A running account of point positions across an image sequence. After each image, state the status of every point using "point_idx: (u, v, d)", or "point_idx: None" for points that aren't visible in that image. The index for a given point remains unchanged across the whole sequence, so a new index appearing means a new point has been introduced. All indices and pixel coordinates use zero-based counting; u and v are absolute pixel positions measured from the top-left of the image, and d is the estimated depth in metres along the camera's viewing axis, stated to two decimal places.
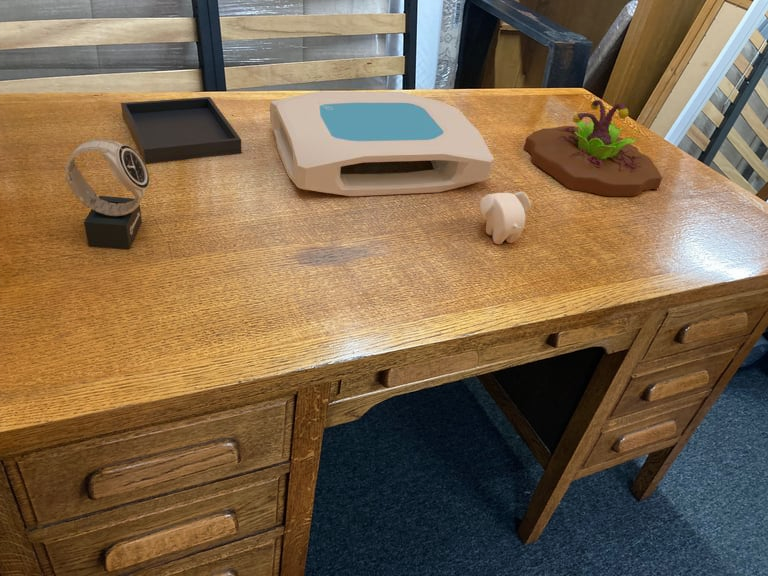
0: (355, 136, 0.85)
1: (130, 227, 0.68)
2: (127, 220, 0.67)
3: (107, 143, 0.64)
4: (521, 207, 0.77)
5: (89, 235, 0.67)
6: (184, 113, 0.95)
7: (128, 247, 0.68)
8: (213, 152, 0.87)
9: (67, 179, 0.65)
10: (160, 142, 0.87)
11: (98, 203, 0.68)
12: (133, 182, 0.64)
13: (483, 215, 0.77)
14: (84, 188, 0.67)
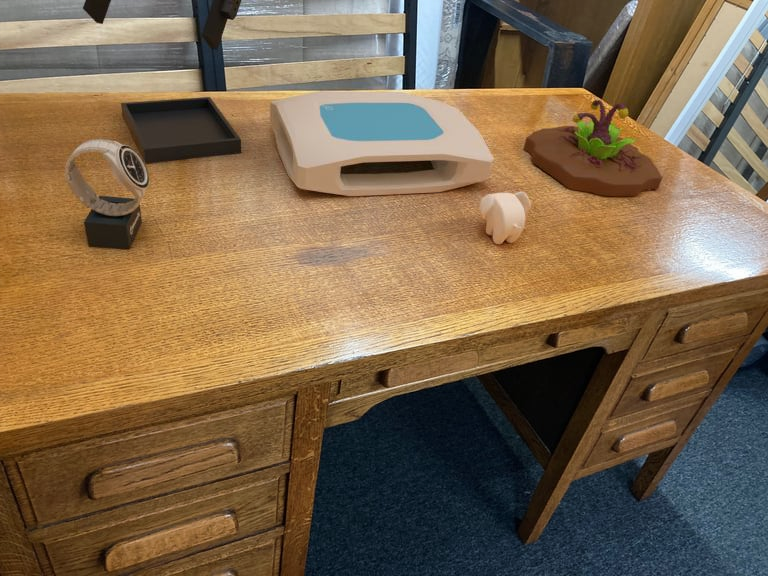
0: (355, 136, 0.85)
1: (130, 227, 0.68)
2: (127, 220, 0.67)
3: (107, 143, 0.64)
4: (521, 207, 0.77)
5: (89, 235, 0.67)
6: (184, 113, 0.95)
7: (128, 247, 0.68)
8: (213, 152, 0.87)
9: (67, 179, 0.65)
10: (160, 142, 0.87)
11: (98, 203, 0.68)
12: (133, 182, 0.64)
13: (483, 215, 0.77)
14: (84, 188, 0.67)
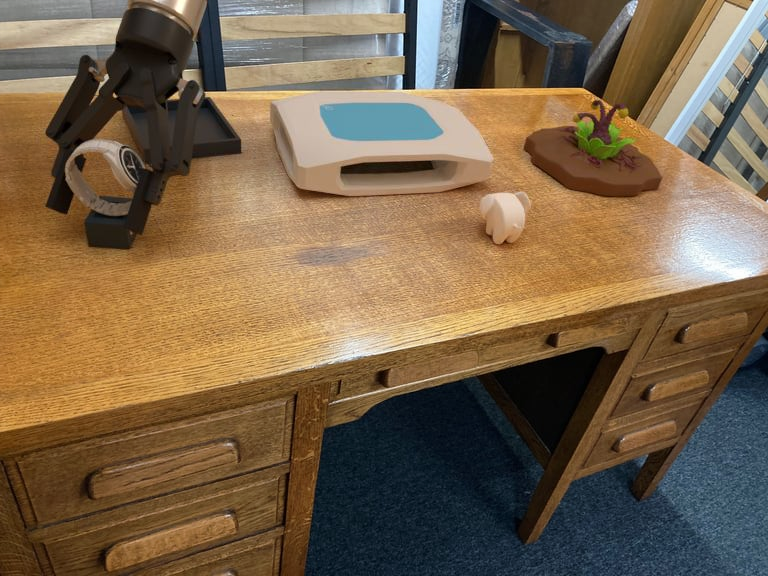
0: (355, 136, 0.84)
1: None
2: None
3: (107, 143, 0.64)
4: (521, 207, 0.77)
5: (89, 235, 0.67)
6: None
7: (128, 247, 0.68)
8: (213, 152, 0.87)
9: (67, 179, 0.65)
10: None
11: (98, 203, 0.68)
12: (133, 182, 0.64)
13: (483, 215, 0.77)
14: (84, 188, 0.67)
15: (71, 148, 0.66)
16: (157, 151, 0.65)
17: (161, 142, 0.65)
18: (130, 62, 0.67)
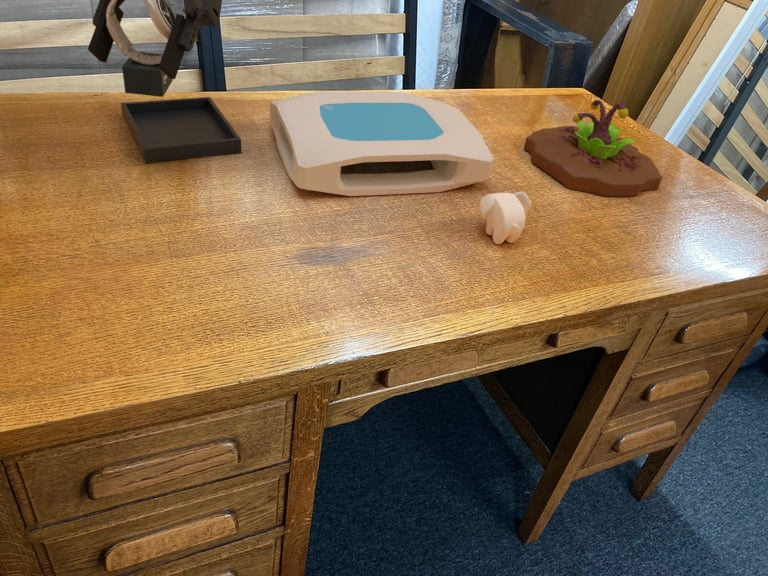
0: (355, 136, 0.84)
1: (163, 76, 0.74)
2: None
3: None
4: (521, 207, 0.77)
5: (126, 81, 0.73)
6: (184, 113, 0.95)
7: (161, 95, 0.74)
8: (213, 152, 0.87)
9: (108, 24, 0.71)
10: (160, 142, 0.87)
11: (134, 53, 0.74)
12: (168, 26, 0.70)
13: (483, 215, 0.77)
14: (122, 36, 0.73)
15: None
16: None
17: None
18: None
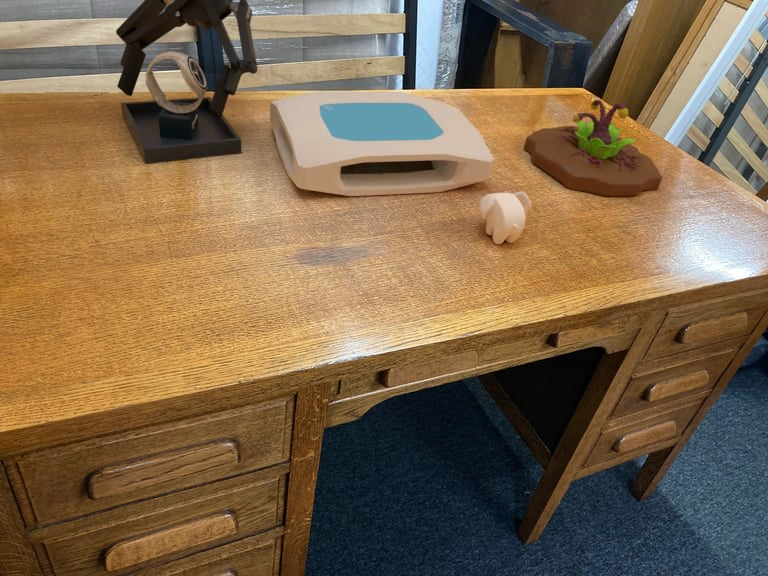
0: (355, 136, 0.84)
1: (192, 122, 0.89)
2: (190, 116, 0.88)
3: (178, 53, 0.85)
4: (521, 207, 0.77)
5: (161, 127, 0.88)
6: None
7: (190, 138, 0.89)
8: (213, 152, 0.87)
9: (147, 82, 0.85)
10: (160, 142, 0.87)
11: (168, 104, 0.88)
12: (198, 84, 0.85)
13: (483, 215, 0.77)
14: (158, 91, 0.87)
15: (135, 44, 0.87)
16: (231, 52, 0.85)
17: (232, 46, 0.85)
18: None
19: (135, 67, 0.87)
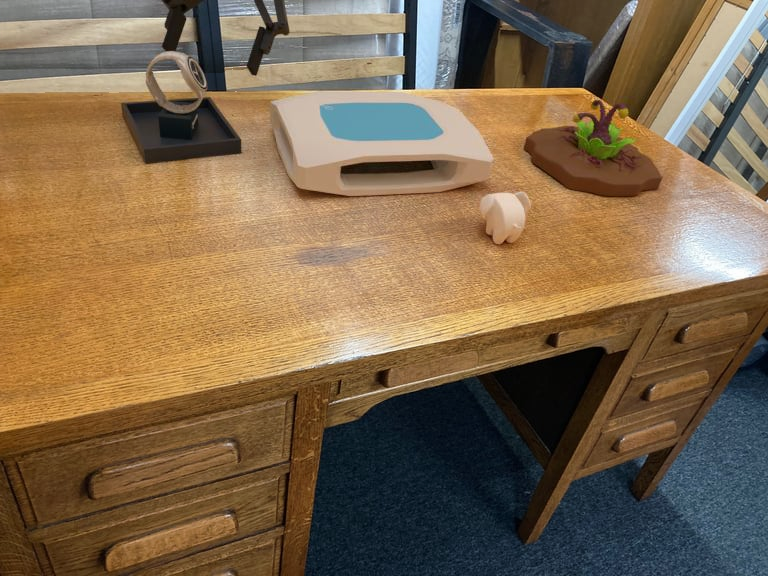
0: (355, 136, 0.84)
1: (192, 122, 0.89)
2: (190, 116, 0.88)
3: (178, 53, 0.85)
4: (521, 207, 0.77)
5: (161, 127, 0.88)
6: None
7: (190, 138, 0.89)
8: (213, 152, 0.87)
9: (147, 82, 0.85)
10: (160, 142, 0.87)
11: (168, 104, 0.88)
12: (198, 84, 0.85)
13: (483, 215, 0.77)
14: (158, 91, 0.87)
15: None
16: (266, 15, 0.93)
17: (266, 9, 0.93)
18: None
19: (177, 29, 0.95)
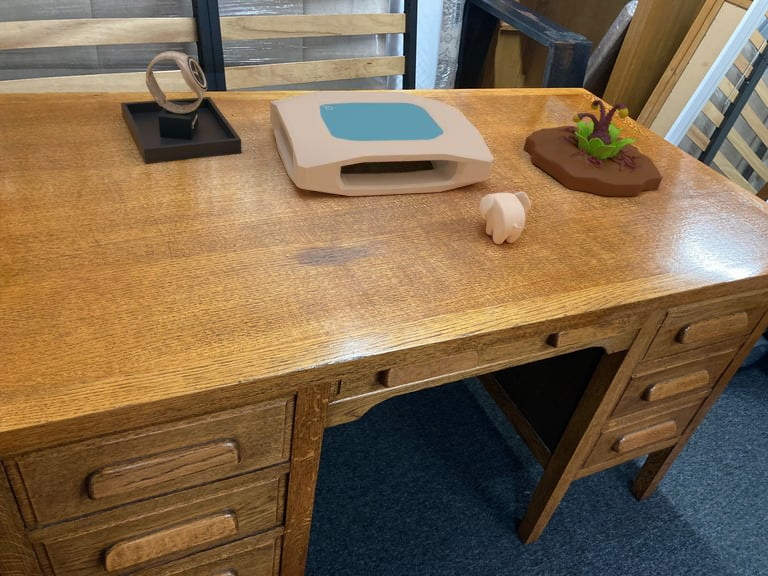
0: (355, 136, 0.84)
1: (192, 122, 0.89)
2: (190, 116, 0.88)
3: (178, 53, 0.85)
4: (521, 207, 0.77)
5: (161, 127, 0.88)
6: None
7: (190, 138, 0.89)
8: (213, 152, 0.87)
9: (147, 82, 0.85)
10: (160, 142, 0.87)
11: (168, 104, 0.88)
12: (198, 84, 0.85)
13: (483, 215, 0.77)
14: (158, 91, 0.87)
15: None
16: None
17: None
18: None
19: None
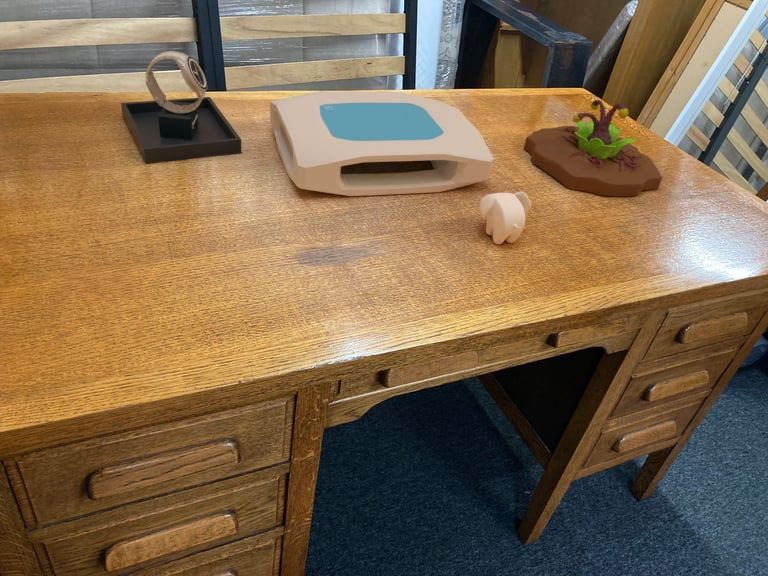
0: (355, 136, 0.84)
1: (192, 122, 0.89)
2: (190, 116, 0.88)
3: (178, 53, 0.85)
4: (521, 207, 0.77)
5: (161, 127, 0.88)
6: None
7: (190, 138, 0.89)
8: (213, 152, 0.87)
9: (147, 82, 0.85)
10: (160, 142, 0.87)
11: (168, 104, 0.88)
12: (198, 84, 0.85)
13: (483, 215, 0.77)
14: (158, 91, 0.87)
15: None
16: None
17: None
18: None
19: None
